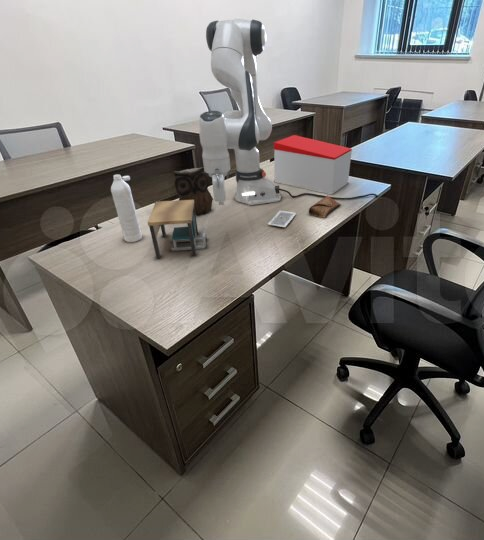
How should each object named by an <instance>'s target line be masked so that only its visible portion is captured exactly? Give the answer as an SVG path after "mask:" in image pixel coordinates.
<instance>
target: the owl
mask: <svg viewBox="0 0 484 540" xmlns="http://www.w3.org/2000/svg"><path fill="white" fill-rule="evenodd" d="M173 176H174V184H173V185H174V188H175V189H174V190H175V191H176V193H177V196H178V200H194V207H195V214H196V217H197V216H201V215H206V214H208V213H209V212H211V211H212V206H213V202H214V197H213V196H212V194H211V192H210V191H209V189H208V188H209V186H210V180H209V176H208V175H207V173H206V172H205V171H204V166H203V167H196V168H194V167H193V168H190V169H189V168H187V169H183V170H180V171H173Z"/></svg>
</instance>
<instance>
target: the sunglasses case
mask: <svg viewBox="0 0 484 540" xmlns="http://www.w3.org/2000/svg"><path fill="white" fill-rule="evenodd" d="M325 196H326V197H322V198H321V199H320V200H319V201H318V200H317V202H316V203H314V204H313V205H311V206H310V207H309V209H308V214H309V215H310V216H313V217H317V218H326V217H327V216H328V215H329V214H330V213H332V212H333V211H334V210H336V209H338V208H339V207H340V206H341V205H342V203H339V202H338V201H337V200H336V199H332V198H330V197H331V196H329V194H327V195H325Z"/></svg>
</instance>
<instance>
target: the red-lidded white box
mask: <svg viewBox="0 0 484 540" xmlns="http://www.w3.org/2000/svg"><path fill="white" fill-rule="evenodd" d="M273 151H274V152H273V158H274V162H273V164H274V167H273V169H274V170H273V171H274V174H273V175H274V179H273V180H274V182H273V183H277V184H283V185H287V186H291V187H296V188H300V189H304V190H310V191H313V192H318V193H323V194H327V195H333V194H334V193H336V192H338V191H339V190H341V189H342V188H343V187H345V186H346V185H347V184H348V183H349V176H350V168H351V161H352V160H351V158H352V151H353V149H352V148H350V147H346V146H342V145H338V144H334V143H329V142H326V141H321V140H317V139H314V138H309V137H304V136H300V135H296V134H292V135H290V136H288V137H285V138H282V139H280V140H277V141H274V142H273ZM347 181H348V182H347Z"/></svg>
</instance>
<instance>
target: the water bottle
mask: <svg viewBox="0 0 484 540" xmlns="http://www.w3.org/2000/svg"><path fill="white" fill-rule="evenodd" d="M130 180H131V176H130V175H124V176H122V175H121V174H118V173H117V174H114V175H113V181H112V184H111V186H110V192H111V196H112V200H113V203H114V207H115V210H116V214H117V219H118V221H119V224H120V228H121V233H122V236H123V239H124V241H125V242H127V243H135V242H138V241H140V240H141V239H142V238H143V234H142V231H141V226H140V222H139V218H138V214H137V210H136V206H135V202H134V198H133V194H132V190H131V186H130V185H129V183H127V182H128V181H130ZM126 181H127V182H126Z"/></svg>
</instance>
